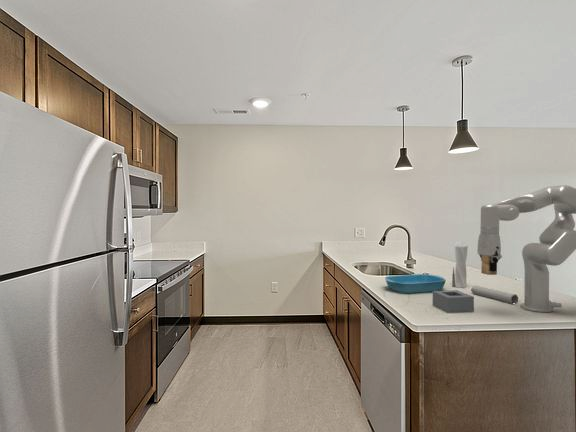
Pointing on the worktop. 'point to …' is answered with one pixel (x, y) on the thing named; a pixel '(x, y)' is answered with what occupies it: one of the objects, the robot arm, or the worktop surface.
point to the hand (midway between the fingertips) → (489, 269)
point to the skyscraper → (460, 266)
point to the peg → (487, 266)
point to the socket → (453, 301)
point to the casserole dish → (415, 283)
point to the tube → (495, 294)
